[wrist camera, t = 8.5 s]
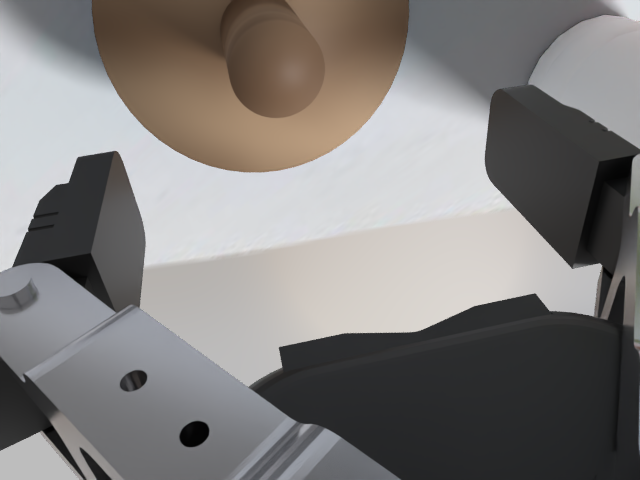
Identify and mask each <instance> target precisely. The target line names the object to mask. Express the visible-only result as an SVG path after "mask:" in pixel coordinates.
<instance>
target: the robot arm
mask: <svg viewBox="0 0 640 480" xmlns="http://www.w3.org/2000/svg"><path fill="white" fill-rule="evenodd" d="M485 166H486V171H487V174H488V177H489V179H490V181H491V182H492V183H493V184H494V186H495V187H496V188H497V189H498V190H499V191H500V192H501V193H502V194H503V195H504V196H505V197H506V198H507V199H508V200H509V202H510V203H511V204H512V205H513V206H514V207H515V208H516V209H517V210H518V211H519V212H520V213H521V214H522V215H523V216H524V217H525V219H526V220H527V221H528V222H529V223H530V224H531V225H532V226H533V227H534V228H535V229H536V230H537V231H538V232H539V234H540V235H541V236H542V237H543V238H544V239H545V240H546V241H547V242H548V243H549V244H550V245H551V246H552V247H553V248H554V249H555V251H556V252H557V253H558V254H559V255H560V256H561V257H562V258H563V259H564V260H565V261H566V262H567V263H568V264H569V265H570V267H571V268H572V269H574V268H578V267H583V266H588V265H593V264H598V263H600V264H601V265H602V269H601V272H600V276H599V279H598V284H597V293H596V302H595V311H594V317H593V316H589V315H583V314H577V313H570V312H557V311H549V310H548V309H547V307H546V306H545V305H544V304H543V303H542V301H541V300H540V299H539V298H538V296H537V295H536V294H530V295H526V296H521V297H516V298H511V299H507V300H502V301H497V302H492V303H488V304H483V305H478V306H474V307H472V308H470V309H468V310H465V311H463V312H461V313H459V314H457V315H454V316H452V317H450V318H448V319H445V320H443V321H441V322H439V323H437V324H435V325H432V326H430V327H428V328H426V329H423V330H421V331H418V332H410V333H350V334H349V333H347V334H340V335H335V336H331V337H326V338H321V339H316V340H311V341H307V342H302V343H297V344H292V345H288V346H283V347H279V351H280V356H281V362H282V368H280V369H278V370H276V371H274V372H272V373H270V374H268V375H267V376H265V377H263V378H261V379H259V380H258V381H256V382H255V383H253V384H252V385H251V386H249V387H247V386H246V385H244V384H243V383H242V382H240V381H239V380H238V379H236V378H235V377H234V376H232V375H231V374H229V373H228V372H227V371H225V370H224V369H223V368H221V367H220V366H218V365H217V364H215V363H214V362H213V361H211V360H210V359H209V358H207V357H206V356H205V355H203V354H202V353H201V352H199V351H198V350H196V349H195V348H193V347H192V346H191V345H190V344H188V343H187V342H186V341H184V340H183V339H181V338H180V337H179V336H177V335H176V334H175V333H173V332H172V331H170V330H169V329H168V328H166V327H165V326H164V325H162V324H161V323H159V322H158V321H157V320H155V319H154V318H153V317H151V316H150V315H149V314H147V313H146V312H144V311H143V310H141V309H140V308H139V307H140V297H141V286H142V276H143V266H144V255H145V232H144V226H143V222H142V218H141V215H140V212H139V209H138V206H137V203H136V200H135V197H134V194H133V191H132V188H131V185H130V182H129V179H128V176H127V173H126V170H125V167H124V164H123V161H122V159H121V157H120V155H119V153H118V152H117V151H112V152H106V153H100V154H94V155H88V156H82V157H78V158H77V160H76V163H75V166H74V169H73V172H72V175H71V178H70V181H69V183H66V184H60V185H56V186H55V187H54V188H53V189H51V190H50V191H49V192H48V193H47V194H46V195H45V196H44V197H43V198H42V199H41V200H40V201H39V203H38V206H37V208H36V211H35V213H34V215H33V217H34V219H32V220H31V223H30V225H29V228H28V231H29V232H26V235H25V237H24V240H23V242H22V245H21V247H20V249H19V252H18V254H17V257H16V259H15V262H14V264H13V266H12V268H10V269H7V270H4V271H2V272H0V451H1V450H3V449H5V448H7V447H9V446H11V445H13V444H15V443H17V442H19V441H21V440H24V439H26V438H28V437H30V436H32V435H34V434H36V433H38V432H40V433H41V435H42V436H43V437H44V438H45V439H46V441H47V442H48V443H49V444H50V445H51V447H52V448H53V449H54V450H55V451H56V452H57V454H59V456H60V457H61V458H62V459H63V460H64V462H65V463H66V464H67V465H68V467H70V469H71V470H72V471H73V472H74V474H75V475H76V476H77V477H78V478H79V479H80V480H640V149H639V148H637V147H636V146H634V145H633V144H631V143H630V142H628V141H627V140H625V139H624V138H622V137H620V136H619V135H617V134H616V133H614V132H613V131H608V128H607V127H605V126H603V125H602V124H600V123H599V122H595V120H594V119H593V118H591V117H590V116H588V115H586V114H585V113H583V112H582V111H580V110H578V109H575V108H572V107H569V106H566V105H563V104H562V103H560V102H559V101H557V100H556V99H554V98H553V97H551V96H549V95H548V94H546V93H545V92H543V91H542V90H540V89H539V88H537V87H536V86H534V85H531V84H530V85H524V86H518V87H511V88H505V89H499V90H497V91H496V92H495V93H494V94H493V96H492V99H491V105H490V114H489V123H488V132H487V141H486V150H485Z"/></svg>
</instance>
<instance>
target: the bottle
mask: <svg viewBox="0 0 640 480" xmlns="http://www.w3.org/2000/svg"><path fill="white" fill-rule="evenodd" d="M530 84H531V85H534V86H536V87H537V88H539V89H540V90H542V91H543V92H545V93H546V94H548V95H549V96H551V97H553V98H554V99H556V100H557V101H559V102H560V103H562V104H563V105H566V106H569V107H572V108H575V109H578V110H580V111H582V112H583V113H585V114H586V115H588V116H590V117H591V118H593V119H594V120H595V122H599V123H600V124H602V125H603V126H605V127H607V128H608V131H613V132H614V133H616V134H617V135H619V136H620V137H622V138H624V139H625V140H627V141H628V142H630V143H631V144H633V145H634V146H636V147H637V148H639V149H640V21H635V20H632V19H629V18H626V17H619V16H610V15H602V16H599V17H595V18H592V19H588V20H585V21H581V22H580V23H578V24H577V25H575V26H574V27H572V28H571V29H569V30H568V31H566V32H565V33H563V34H562V35H560V36H559V37H558V38H557V39H556V40H555V41H554V42H553V43H552V45H551V46H550V47H549V48H548V49H547V50H546V51H545V52H544V54H543V55H542V56H541V57H540V59H539V61H538V63H537V65H536V67H535V69H534V71H533V73H532V75H531V77H530V79H529V81H528V85H530Z"/></svg>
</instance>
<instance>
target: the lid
mask: <svg viewBox="0 0 640 480" xmlns="http://www.w3.org/2000/svg"><path fill="white" fill-rule="evenodd" d="M92 16H93V24H94V33H95V37H96V41H97V45H98V49H99V53H100V56H101V59H102V62H103V64H104V67H105V69H106V72H107V74H108V77H109V78H110V80H111V82H112V84H113V86H114V88H115V90H116V91H117V93H118V95H119V96H120V98H121V99H122V101H123V102H124V103H125V105H126V106H127V108H128V109H129V111H130V112H131V113H132V114H133V115H134V116H135V117H136V119H137V120H138V121H139V122H140V123H141V124H142V125H143V126H144V127H145V128H146V129H147V130H148V131H149V132H151V133H152V134H153V135H154V136H155V137H156V138H158V139H159V140H160V141H162V142H163V143H165V144H166V145H168V146H169V147H170V148H172V149H173V150H175V151H177V152H179V153H181V154H183V155H185V156H187V157H188V158H190V159H193V160H195V161H198V162H201V163H203V164H206V165H209V166H212V167H216V168H221V169H225V170H231V171H239V172H269V171H278V170H283V169H287V168H292V167H296V166H299V165H302V164H304V163H307V162H310V161H313V160H315V159H317V158H319V157H321V156H323V155H325V154H327V153H329V152H330V151H332V150H333V149H335V148H337V147H338V146H340V145H341V144H343V143H344V142H345V141H346V140H348V139H349V138H350V137H351V136H352V135H354V134H355V133H356V132H357V131H358V130H359V129H360V128H361V127H362V126H363V125H364V124H365V123H366V122H367V121H368V120H369V119H370V117H371V116H372V115H373V113H374V112H375V111H376V109H377V108H378V107H379V105H380V104H381V103H382V101H383V99H384V97H385V96H386V94H387V92H388V91H389V89H390V87H391V85H392V83H393V80H394V78H395V76H396V74H397V71H398V69H399V66H400V62H401V59H402V56H403V53H404V48H405V43H406V38H407V32H408V19H409V0H92Z"/></svg>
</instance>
